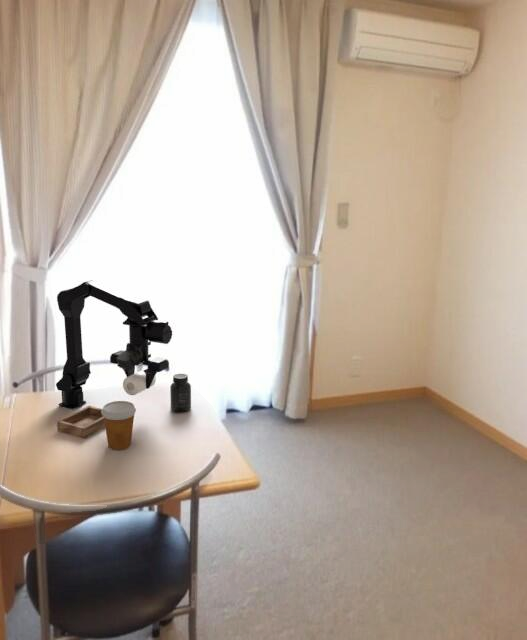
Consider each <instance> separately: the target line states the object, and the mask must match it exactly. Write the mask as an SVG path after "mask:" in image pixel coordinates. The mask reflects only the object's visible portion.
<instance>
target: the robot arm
mask: <svg viewBox="0 0 527 640" xmlns="http://www.w3.org/2000/svg"><path fill="white" fill-rule="evenodd" d="M89 297H92V298H95V299H97V300H100V301H101V302H103V303H106V304H107V305H109V306H112V307H114V308H116V309H118V310H119V311H120V312H121V314H122V315H124V316H125V317H126V319H125V320H124V321H123V322H122V324H123V325H125V326H128V331H129V332H128V334H129V337H128V338H129V342H127V343H126V348H125V350H122V349H121V350H118V351H116V352H113V353H111V354H110V357H109V363H111V364H113V365H114V364H115V365H117V367H119V368H120V369H122V370H123V371H124V374H125V376H126V378H127V377H129V376H131V375H133V374H135V373H136V371H135V369H136V367H137V366H139V365H142V366H143V365H144V366H147V368H145V369H146V370H144V369H143V370H144V372H145V374H146V388H147V389H146V390H148V389H150V388H151V387H150V385H151V383H152V381H153V379H154V377H156V374H157V373H161V372H162V371H164V370H167V369H168V368H169V367H170V361H169V359H167V358H163V357H159V356H158V357H155V358H152V359H149V358H151V357H152V353H149V346H151V343H157V344H163V345H164V344H165V345H169V343H170V342H171V340H172V338H173V331H172V327H171V326H170V325H169V321H167V320H163V321H162V320H159V318H158V316H157V314H156V313H155V312H154V309H153V308H152V305H151V304H150V301H149V300H148V299H147V298H144V297H141V296H132V295H131V296H130V295H126V294H125V293H121V292H119V291H117V290H114V289H112V288H110V287H109V286H108V287H107V286H105V285H104V284H102V283H98V282H97V281H96V280H93V279H92V280H88V281H84V282H82V283H80V284H78V285H77V286H74V287H73V288H69V289H64V290H61V291H59V292H58V294H57V295H56V301H57V305H58V309H59V311H60V313H61V314H62V316H63V318H64V333H65V350H66V361H65V363H64V365H63V368H62V377H61V379H58V381H57V382H56V383H55V385H56V386H55V387H56V389H57V390H58V391H61V402H60V403H58V406H60V407H65V408H68V409H71V410H74V409H76V408H78V407H80V406H82V405H84V404H87V401H86V400H84V391H83V386H84V385H86V383H87V380H88V379H89V378H90V375H91V374H92V373H91V368H90V367H91V362H88V361H87V362H86V360H85V359H84V357H83V354H84V353H83V342H82V341H83V340H82V322H81V321H82V320H81V315H82V313H83V310H84V308H85V302H86V301H85V300H86V299H87V298H89Z"/></svg>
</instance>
